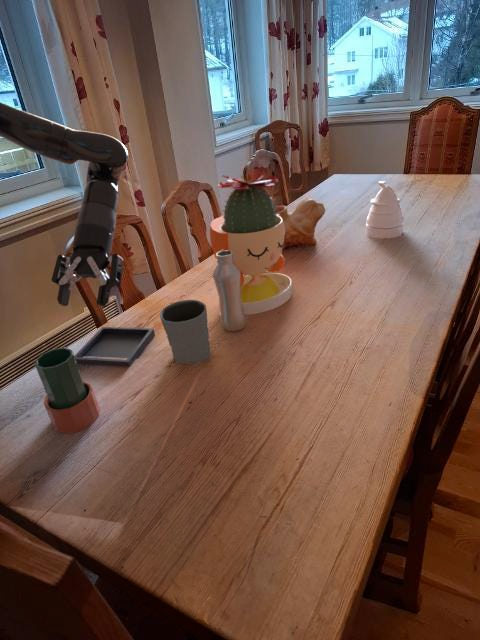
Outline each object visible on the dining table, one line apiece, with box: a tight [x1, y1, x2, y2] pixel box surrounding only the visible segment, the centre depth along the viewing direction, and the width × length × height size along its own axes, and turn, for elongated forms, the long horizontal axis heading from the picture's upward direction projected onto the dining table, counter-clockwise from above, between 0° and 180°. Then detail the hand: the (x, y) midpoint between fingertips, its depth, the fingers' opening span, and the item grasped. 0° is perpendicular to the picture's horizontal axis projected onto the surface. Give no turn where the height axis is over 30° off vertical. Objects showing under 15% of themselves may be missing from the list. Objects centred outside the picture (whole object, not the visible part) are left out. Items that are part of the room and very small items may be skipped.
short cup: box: [43, 380, 101, 434], centre depth 82 cm, size 9×9×6 cm
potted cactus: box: [209, 165, 293, 315], centre depth 115 cm, size 22×22×35 cm
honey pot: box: [365, 180, 405, 239], centre depth 153 cm, size 13×13×18 cm
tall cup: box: [34, 347, 88, 409], centre depth 80 cm, size 6×7×14 cm
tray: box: [74, 326, 156, 368], centre depth 105 cm, size 15×15×2 cm
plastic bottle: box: [212, 251, 247, 332], centre depth 104 cm, size 6×7×20 cm
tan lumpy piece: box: [275, 197, 326, 251], centre depth 154 cm, size 14×26×15 cm, turn 103°
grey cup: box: [159, 299, 212, 365], centre depth 96 cm, size 10×10×12 cm
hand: (81, 305), depth 84 cm, fingers open, 8 cm apart
